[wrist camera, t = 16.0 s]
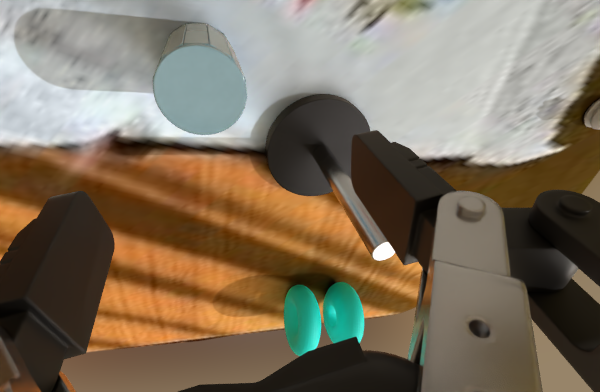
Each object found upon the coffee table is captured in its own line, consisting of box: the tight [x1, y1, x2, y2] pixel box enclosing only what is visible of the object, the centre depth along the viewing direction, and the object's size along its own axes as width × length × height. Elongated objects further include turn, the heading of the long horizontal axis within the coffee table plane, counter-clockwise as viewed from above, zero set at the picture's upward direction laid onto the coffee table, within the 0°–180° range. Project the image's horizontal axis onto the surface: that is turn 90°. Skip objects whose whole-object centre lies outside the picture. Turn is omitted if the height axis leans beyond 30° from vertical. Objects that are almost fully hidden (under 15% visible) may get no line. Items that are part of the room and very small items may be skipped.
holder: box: [265, 94, 395, 261], centre depth 30 cm, size 12×12×17 cm
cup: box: [153, 23, 247, 135], centre depth 25 cm, size 6×6×9 cm
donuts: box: [284, 282, 364, 356], centre depth 48 cm, size 10×10×10 cm
